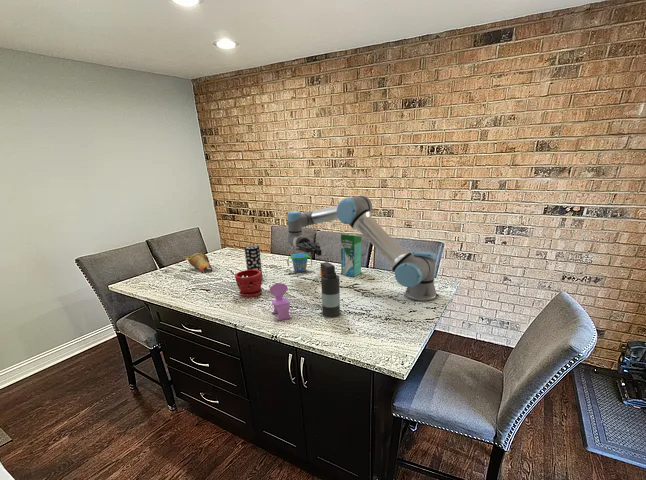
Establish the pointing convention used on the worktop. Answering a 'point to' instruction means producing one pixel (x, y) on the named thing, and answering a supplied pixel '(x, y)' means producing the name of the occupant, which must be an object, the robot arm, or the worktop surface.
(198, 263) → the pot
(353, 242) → the milk carton
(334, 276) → the spray bottle
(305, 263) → the snack cup
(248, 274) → the plant pot
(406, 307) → the worktop surface
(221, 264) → the worktop surface
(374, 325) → the worktop surface
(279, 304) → the toy chair
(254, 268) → the white-spotted black cylinder
